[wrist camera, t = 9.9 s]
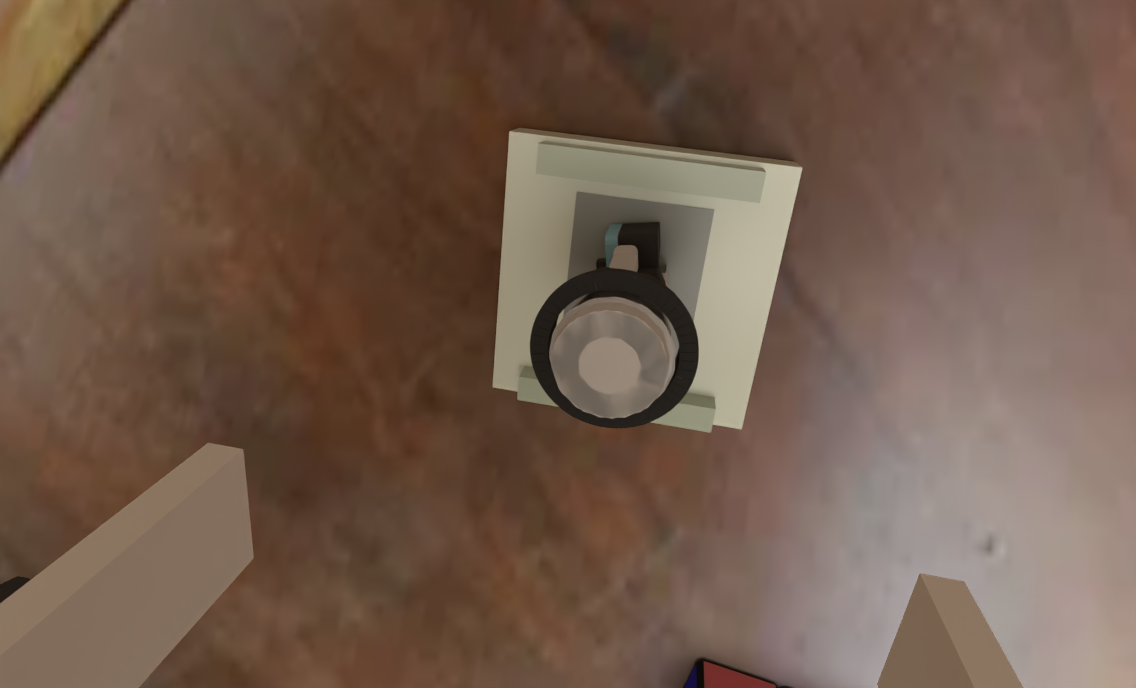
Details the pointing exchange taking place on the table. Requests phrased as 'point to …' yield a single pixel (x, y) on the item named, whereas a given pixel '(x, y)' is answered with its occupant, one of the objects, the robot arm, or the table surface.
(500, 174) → the table surface
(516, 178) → the plate
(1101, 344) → the table surface
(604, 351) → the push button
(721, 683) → the puzzle cube
